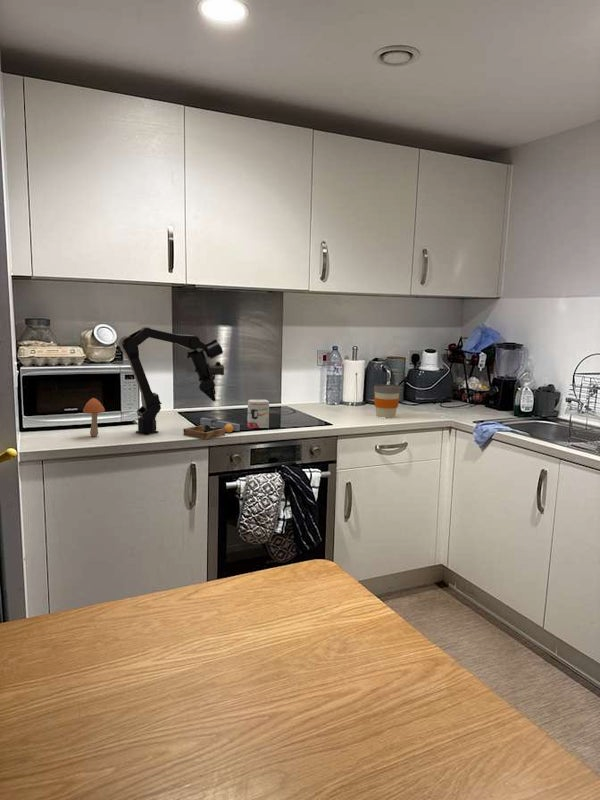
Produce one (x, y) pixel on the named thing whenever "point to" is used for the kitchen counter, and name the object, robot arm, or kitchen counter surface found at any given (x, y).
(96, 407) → the mushroom
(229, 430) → the ball
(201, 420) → the lever
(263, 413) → the ink box
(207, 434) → the wooden tray
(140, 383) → the robot arm
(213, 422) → the post
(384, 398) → the reusable coffee cup
